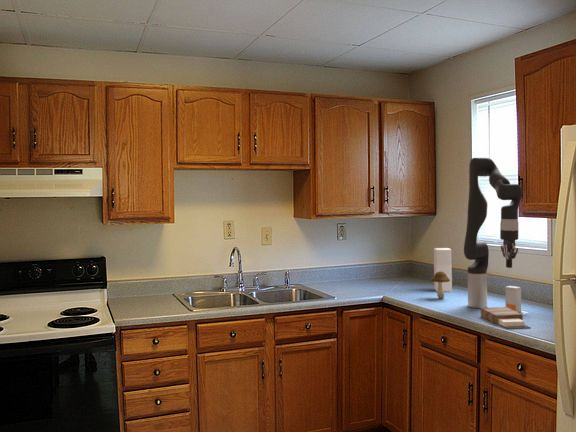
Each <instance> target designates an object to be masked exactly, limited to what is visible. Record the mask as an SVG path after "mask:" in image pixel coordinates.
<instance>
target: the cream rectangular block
mask: <svg viewBox="0 0 576 432" xmlns="http://www.w3.org/2000/svg"><path fill="white" fill-rule="evenodd" d="M525 323H526V322H525V320H524V319H523V320H521V319H519V318H511V319H498V324H497V325H499V324H500V326H501V325H502V326H501V327H503V326H504V327H509V326H525V325H526V324H525ZM504 327H503V328H504Z"/></svg>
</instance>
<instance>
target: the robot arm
mask: <svg viewBox="0 0 576 432" xmlns="http://www.w3.org/2000/svg"><path fill="white" fill-rule="evenodd" d="M479 177H489V178H488V182H489V185H490V186H491V187H492V188H493V189H494V191H495V193H496V196H497V198H498V199H499V200H502V201H510V202H509V204H507V205H503V206H501V209H500V225H499V227H500V230H499V232H500V233H499V236H500V237H499V239H500V240H501V241H502V240H503V244H502V245H500V249H501V252H502V256H503V258H504V260H505V267H506V268H507V269H512V268H513V260H514V259H516V256H517V254H518V252H519V249H518V247H516V241H517V240H519V207H520V203H521V200H522V197H523V188H522V185H520V184H518V183H517V184H516V183H513V184H511V182H510V180H509V179H508V178H507V177H505V176H504V175H503V174H502V173H501V171H500V170H499V167H498V166H497V164H496V162H494V161H493V159H491V158H488V157H473V158H471V160H470V161H469V165H468V178H469V179H468V184H469V189H468V200H467V201H468V204H467V219H466V221H467V222H466V232H465V237H464V243H463V254H464V257H465V258H466V259H467V260H469V261H470V260H472V261H474V262H473V263H472V264H471V265H469V266H468V267H467V307H469V308H473V309H474V308H476V309H481V308H488V273H487V272H488V268H489V258H490V257H489V253H490V252H489V251H490V250H489V245H488V244H487V242H485V241H483V240H477V239H478V235H479V231H480V230H481V228H482V226H483V224H484V223H485V221H486V218H487V215H488V206H489V205H488V200H487V199H486V197H485V195H484V193H483V192H482V190H481V188H480V185H479V184H480V183H479Z"/></svg>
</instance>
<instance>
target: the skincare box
mask: <svg viewBox="0 0 576 432" xmlns="http://www.w3.org/2000/svg"><path fill="white" fill-rule="evenodd" d="M504 288H505V291H504V293H505V307H507V308H509V309H512V310H514V311H516V312H518V313H522V287H520V286H514V285H508V286H507V285H506V286H505V287H504Z"/></svg>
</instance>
